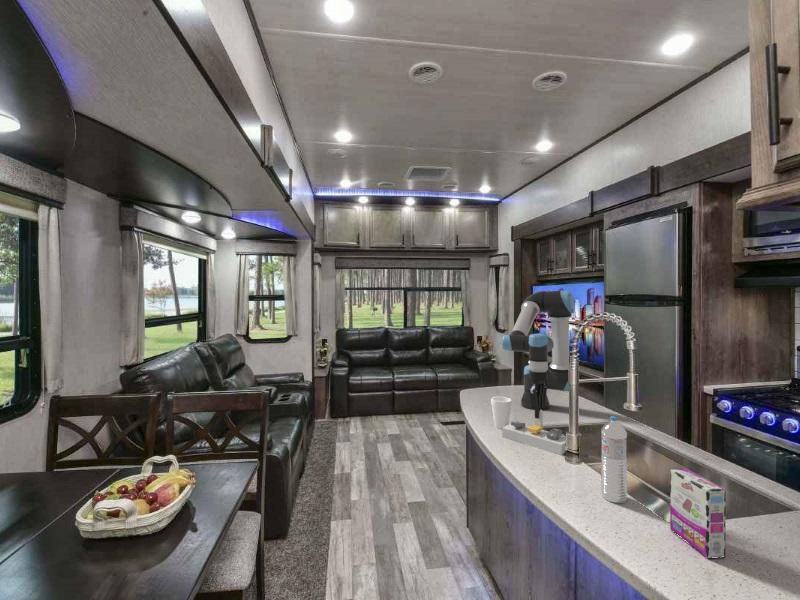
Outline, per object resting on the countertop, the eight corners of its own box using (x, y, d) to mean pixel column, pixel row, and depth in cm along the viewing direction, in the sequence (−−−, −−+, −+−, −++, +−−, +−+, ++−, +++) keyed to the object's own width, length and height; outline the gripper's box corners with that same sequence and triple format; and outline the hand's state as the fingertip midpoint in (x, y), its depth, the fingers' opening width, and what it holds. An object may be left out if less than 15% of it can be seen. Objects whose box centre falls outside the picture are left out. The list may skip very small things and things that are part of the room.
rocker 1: (517, 424, 165) (518, 421, 166) (525, 426, 163) (525, 423, 163) (510, 425, 161) (511, 421, 161) (518, 427, 159) (518, 423, 159)
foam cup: (509, 423, 179) (509, 396, 179) (513, 430, 170) (513, 402, 170) (489, 422, 180) (489, 396, 180) (492, 429, 171) (492, 402, 171)
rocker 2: (553, 430, 154) (552, 427, 154) (561, 433, 151) (561, 429, 151) (546, 437, 150) (546, 434, 150) (555, 440, 147) (555, 436, 147)
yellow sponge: (534, 427, 160) (534, 424, 160) (542, 429, 157) (542, 426, 157) (528, 431, 156) (528, 428, 155) (536, 433, 153) (536, 430, 153)
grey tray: (513, 430, 169) (513, 420, 169) (592, 453, 145) (592, 441, 144) (502, 436, 162) (502, 426, 162) (583, 461, 138) (582, 449, 138)
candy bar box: (727, 558, 87) (727, 489, 87) (707, 560, 86) (707, 490, 86) (686, 528, 98) (686, 467, 98) (669, 530, 98) (669, 468, 97)
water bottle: (626, 506, 108) (626, 422, 108) (600, 500, 112) (600, 418, 112) (627, 496, 114) (627, 415, 114) (601, 490, 118) (601, 412, 117)
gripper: (537, 366, 165) (537, 419, 165) (522, 371, 156) (522, 426, 156) (553, 369, 160) (554, 423, 160) (539, 374, 150) (539, 431, 151)
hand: (538, 424), depth 158 cm, fingers closed, pressing on yellow sponge
